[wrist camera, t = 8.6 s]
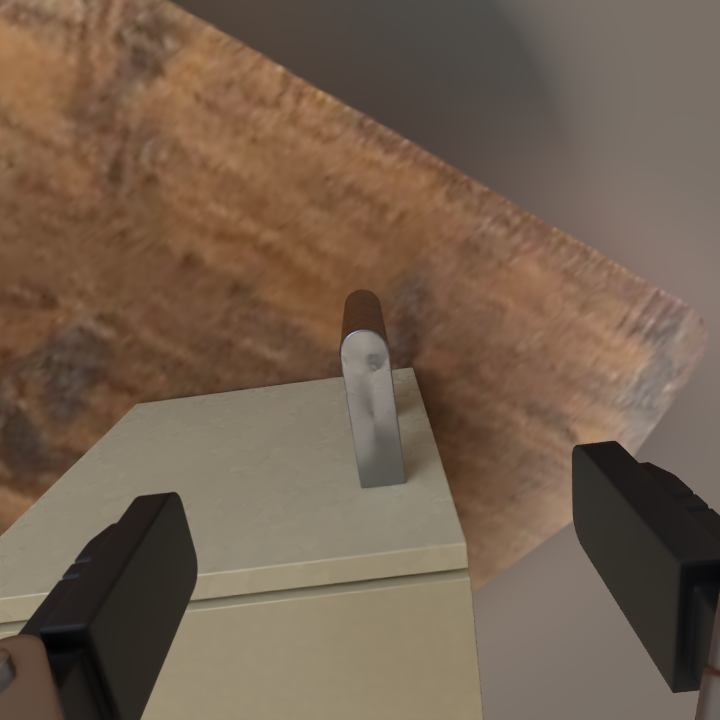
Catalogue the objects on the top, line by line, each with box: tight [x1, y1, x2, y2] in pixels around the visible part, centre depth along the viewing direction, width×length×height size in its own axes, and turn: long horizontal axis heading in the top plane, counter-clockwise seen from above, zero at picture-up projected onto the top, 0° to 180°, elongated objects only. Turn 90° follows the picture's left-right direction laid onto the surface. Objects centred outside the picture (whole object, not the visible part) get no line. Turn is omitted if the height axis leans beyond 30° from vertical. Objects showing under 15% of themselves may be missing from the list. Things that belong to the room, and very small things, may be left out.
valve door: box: [0, 289, 469, 623], centre depth 25 cm, size 7×18×18 cm, turn 98°
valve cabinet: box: [0, 567, 484, 720], centre depth 28 cm, size 11×18×18 cm, turn 98°
